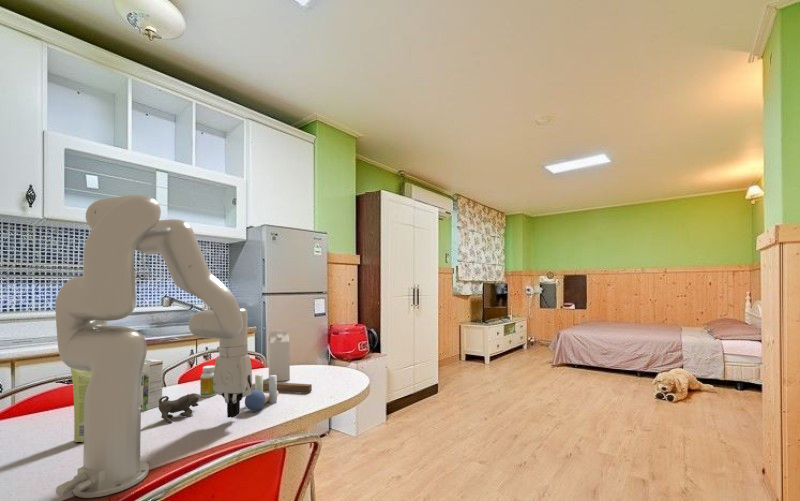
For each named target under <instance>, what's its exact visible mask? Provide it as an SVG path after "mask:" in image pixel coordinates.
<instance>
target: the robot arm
mask: <svg viewBox="0 0 800 501" xmlns="http://www.w3.org/2000/svg"><path fill="white" fill-rule="evenodd" d="M161 211H162V210H161V206H160V203H159V202H158V201H157V200H156V199H154V198H153V197H151V196H149V195H144V194H130V195H122V196H116V197H114V196H113V197H107V198H101V199H98V200H96V201H94V202H92V203H91V204H90V205H89V206H88V208H87V209H86V211H85V221H86V223H87V225H88V227H89V228H90V229H91V230H90V232H89V234H88V235H87V238H86V240H85V242H84V247H83V267H82V268H83V270H82V271H83V272H82V274H83V275H80V276H77V277H74V278H72V279H69V280H68V281H66V283H64V284H63V285H62V287H61V288H60V289H59V291H58V293H57V296H56V299H55V303H54V304H55V306H54V307H55V324H56V325H55V326H56V339H57V349H58V354H59V357H60V359H61V361H62V362H63V363H64V364H65V365H66V366H67V367H69V369H71V368H73V369H77V370H82V371H91V372H92V376H91V379H90V382H89V384H88V387H87V389H86V393H85V400H84V442H83V456H82V457H83V463H82V464H83V465H82V466H81V467H79V468H77V474H76V475H74V476H73V477H72V479H70V480H67V481H66V482H63V483H61V484H59V485H58V486H57V487H56V488H55V493H56V496H58V497H62V496H64V495H67V494H68V493H69V492H72V493H74V494H75V495H74V494H73V495H74V496H76V497H78V498H84V499H92V498H100V497H107V496H110V495H114V494H118V493H119V492H122V491H124V490H127V489H130V488H131V487H134V486H135V485H137V484H139V483H140V482H141V481H143V480H144V479H145V478H146V477H147V475H148V474H149V470H150V468H149V464H148V462H145V461H142V460H141V437H142V436H141V434H142V433H141V426H142V424H141V423H142V421H141V420H142V419H141V418H142V415H141V414H142V410H141V381H142V372H143V367H144V363H145V360H147V359H146V357H147V352H148V345H147V340H146V338H145V337H144V336H143V334H142V333H141V332H139V331H137V330H136V329H134V328H131V327H127V326H120V325H119V326H118V325H117V326H116V325H108V322H110V321H111V322H112V321H119V320H123V319H125V318H127V317H129V316H130V315H131V314H132V313H133V311H134V310H135V308H136V304H137V290H136V273H135V251H137V252H140V253H144V254H149V255H161V256H162V257H161V258H163V261H164V263H165V265H166V267H167V270H168V272H169V274H170V276H171V278H172V281H173V283H174V284H175V286H176V287H177V288H178V289H180V290H182V291H184V292H186V293H187V294H190V295H192V296H193V297H197V298H198V299H200V300H201V301H203V302H204V303H206V305H207V306H208V307H209V308H210V309H204V310H201V311H198V312H196V313H194V314H193V315H192V316H191V318H190V319H189V321H188V329H189V331H190V333H191V334H192V335H193V336H195V337H198V338H202V339H217V340H218V339H219V346H217V348H216V351H217V352H218V354H219V355H218V356H217V357H216V358H215V363H214V366H215V367H214V376H213V390H214V391H215V392H216V395H218V396H222V397H223V399H224V402H225V404H226V414H227V416H226V417H227V418H231V419H233V418H235V417H237V416H239V415H240V411H241V408H240V407H241V405H240V404H241V401H242V400H243V398H246V396H249V395H251V391H252V387H253V369H252V362H251V358H250V354H248V349H249V348H248V346H249V345H248V342H249V341H248V339H249V338H248V328H249V327H248V322H249V320H248V318H249V317H248V311H247V309H246V308H244V307H240V306H239V304H238V301H237V299H236V297H235V295H234V293H232V292H231V290H230V289H229V288H228V287H227V286H226V285H225V284H224V283H223V282H222V281H221V280H220V279H219V278H218V277H216V276H215V275H213V273H212V272H211V271H210V268H209V266H208V263H207V261H206V259H205V257H204V254H203V252H202V249H201V247H200V244H199V241H198V239H197V237H196V235H195V234H196V233H195V231H194V230H193V228H192V226H191V225H190V224H189V223H188V222H187V221H184V220H182V219H172V218H171V219H160V218H161V213H162V212H161Z"/></svg>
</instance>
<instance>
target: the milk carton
mask: <svg viewBox="0 0 800 501" xmlns="http://www.w3.org/2000/svg"><path fill="white" fill-rule="evenodd" d="M290 344H291V343H290V336H289V329H284V330H283V329H282V330H271V331H269V336H268V377H269V376H270V375H277V382H285V381H290V380H291V379H290V377H291V373H290V372H291V371H290V370H291V368H290V366H291V365H290V363H291V361H290V358H291V355H290V354H291V353H290V352H291V351H290V347H291V346H290Z"/></svg>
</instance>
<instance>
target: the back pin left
mask: <svg viewBox="0 0 800 501" xmlns="http://www.w3.org/2000/svg"><path fill="white" fill-rule="evenodd" d="M254 377H255V378H254V379H255V380H254V383H255V384H254V386H255V388H254V390H259V391H261V392H263V393H264V390H263V382H264V374H261V373H259V374H255V376H254Z"/></svg>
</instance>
